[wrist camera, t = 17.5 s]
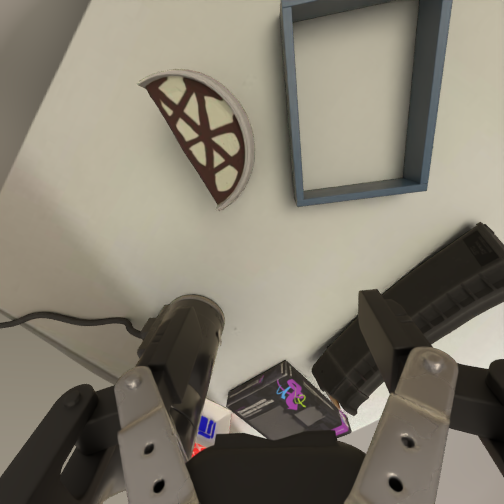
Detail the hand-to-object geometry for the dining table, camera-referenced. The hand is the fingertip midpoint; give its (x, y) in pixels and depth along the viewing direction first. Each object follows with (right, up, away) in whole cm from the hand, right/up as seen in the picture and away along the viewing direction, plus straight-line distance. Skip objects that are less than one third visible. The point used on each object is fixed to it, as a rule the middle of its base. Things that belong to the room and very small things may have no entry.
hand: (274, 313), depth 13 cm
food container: (-4, +17, +17) cm, 25 cm away
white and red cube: (-11, -29, +40) cm, 51 cm away
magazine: (+19, -4, +26) cm, 32 cm away
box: (+6, -26, +37) cm, 46 cm away
